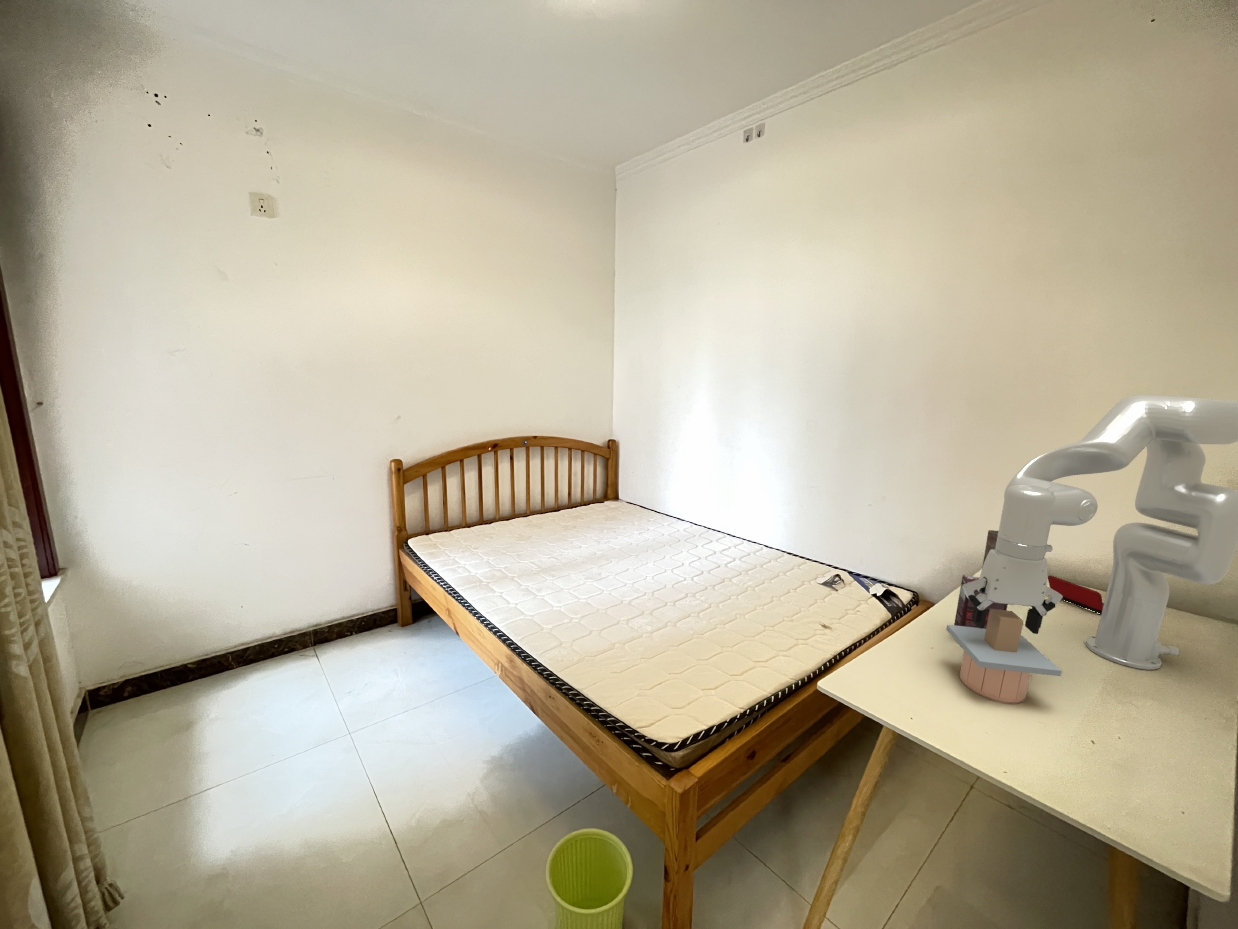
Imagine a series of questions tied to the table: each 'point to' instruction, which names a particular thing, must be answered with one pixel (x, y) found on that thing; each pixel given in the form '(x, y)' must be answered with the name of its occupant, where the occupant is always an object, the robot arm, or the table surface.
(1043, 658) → the cover
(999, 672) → the bowl
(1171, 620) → the table surface
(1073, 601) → the red slanted piece
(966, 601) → the supplement box
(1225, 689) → the table surface
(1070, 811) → the table surface
